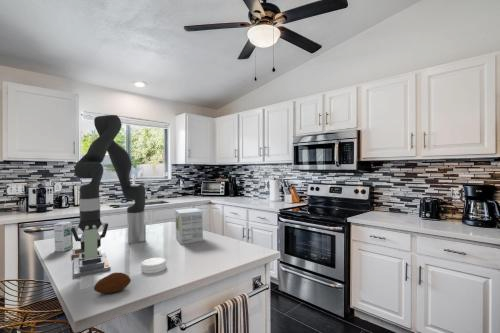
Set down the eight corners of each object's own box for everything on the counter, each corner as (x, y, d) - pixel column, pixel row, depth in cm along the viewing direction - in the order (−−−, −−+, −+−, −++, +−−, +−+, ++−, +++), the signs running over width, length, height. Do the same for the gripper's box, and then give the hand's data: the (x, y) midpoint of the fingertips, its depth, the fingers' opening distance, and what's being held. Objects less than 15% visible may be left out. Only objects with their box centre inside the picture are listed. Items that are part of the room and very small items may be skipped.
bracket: (93, 250, 141) (93, 246, 141) (94, 255, 133) (94, 251, 133) (72, 253, 136) (72, 249, 136) (72, 259, 128) (72, 255, 128)
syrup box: (63, 251, 140) (63, 223, 140) (54, 251, 141) (53, 223, 141) (73, 248, 145) (72, 221, 145) (63, 247, 147) (63, 221, 146)
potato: (93, 292, 94) (92, 274, 94) (129, 284, 100) (128, 266, 100) (94, 299, 88) (94, 280, 88) (132, 290, 95) (131, 272, 95)
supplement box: (175, 239, 160) (174, 209, 160) (197, 235, 166) (196, 207, 166) (180, 244, 148) (179, 213, 148) (203, 241, 154) (202, 210, 154)
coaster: (160, 263, 121) (160, 255, 121) (170, 269, 114) (169, 261, 114) (137, 269, 115) (137, 260, 115) (146, 276, 107) (146, 267, 107)
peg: (96, 254, 117) (96, 226, 117) (97, 257, 113) (97, 228, 113) (84, 256, 115) (83, 228, 115) (84, 259, 111) (84, 230, 111)
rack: (105, 255, 132) (105, 248, 132) (110, 270, 113) (110, 262, 113) (73, 261, 125) (73, 254, 125) (73, 277, 106) (73, 269, 106)
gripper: (108, 206, 121) (108, 244, 121) (69, 209, 113) (70, 250, 113) (109, 208, 115) (110, 248, 115) (69, 211, 107) (70, 254, 107)
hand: (90, 248), depth 114 cm, fingers closed on peg, 4 cm apart
